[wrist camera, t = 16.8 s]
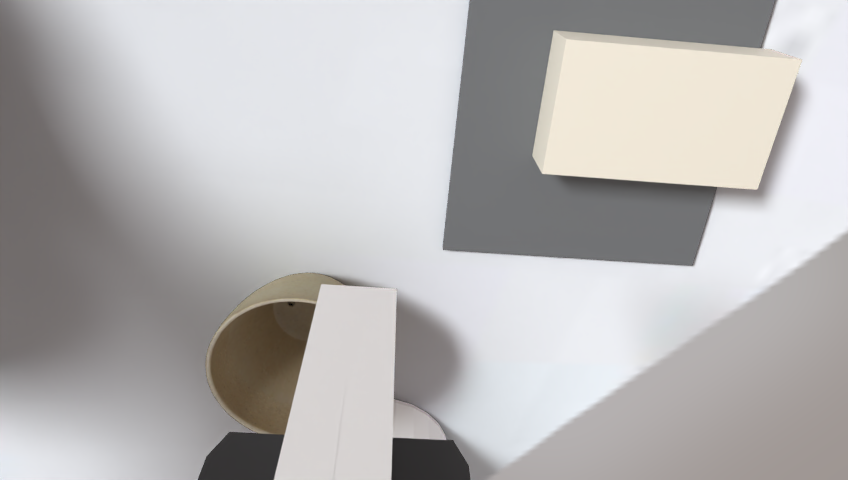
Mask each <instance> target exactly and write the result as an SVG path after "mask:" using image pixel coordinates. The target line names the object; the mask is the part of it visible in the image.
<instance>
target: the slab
mask: <svg viewBox="0 0 848 480" xmlns="http://www.w3.org/2000/svg"><path fill="white" fill-rule="evenodd" d="M801 62H802V59H799V58H796V57H793V56H790V55H787V54H784V53H781V52H778V51H775V50H772V49H762V48H750V47H739V46H727V45H716V44H705V43H693V42H682V41H670V40H659V39H648V38H636V37H625V36H613V35H602V34H591V33H579V32H568V31H556V30H554V31H553V37H552V43H551V49H550V54H549V60H548V66H547V72H546V78H545V84H544V90H543V95H542V101H541V107H540V113H539V119H538V125H537V131H536V136H535V142H534V148H533V154H532V156H533V158H534V160H535V162H536V164H537V165H538V167H539V169H540V171H541V173H542V174H551V175H564V176H578V177H591V178H605V179H618V180H632V181H646V182H659V183H673V184H686V185H700V186H713V187H727V188H740V189H754V190H757V189H758V186H759V183H760V181H761V178H762V175H763V172H764V169H765V166H766V163H767V160H768V157H769V155H770V152H771V149H772V146H773V143H774V140H775V137H776V134H777V131H778V129H779V126H780V123H781V120H782V117H783V114H784V111H785V108H786V105H787V103H788V100H789V97H790V94H791V91H792V88H793V85H794V82H795V80H796V77H797V74H798V71H799V68H800V65H801Z"/></svg>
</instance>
